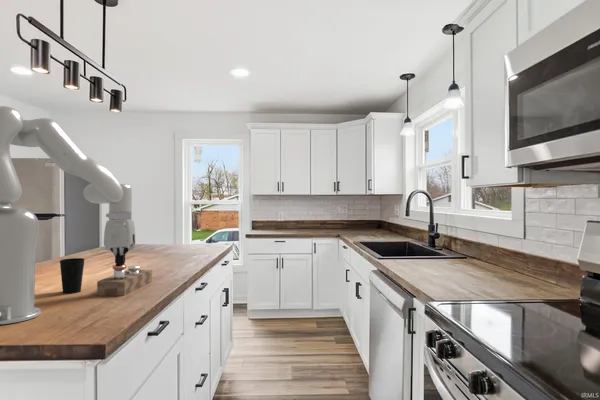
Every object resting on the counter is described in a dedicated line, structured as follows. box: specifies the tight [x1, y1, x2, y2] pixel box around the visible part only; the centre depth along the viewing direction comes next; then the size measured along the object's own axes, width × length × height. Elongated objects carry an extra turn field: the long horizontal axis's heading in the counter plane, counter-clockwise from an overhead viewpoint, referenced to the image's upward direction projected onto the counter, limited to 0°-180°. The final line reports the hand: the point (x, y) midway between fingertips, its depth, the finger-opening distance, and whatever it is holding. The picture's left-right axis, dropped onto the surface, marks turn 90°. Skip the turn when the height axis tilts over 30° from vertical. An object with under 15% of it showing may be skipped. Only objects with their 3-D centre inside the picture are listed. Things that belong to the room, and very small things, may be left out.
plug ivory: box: [127, 265, 141, 274], centre depth 141 cm, size 5×5×7 cm
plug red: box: [112, 263, 127, 280], centre depth 130 cm, size 5×5×7 cm
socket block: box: [96, 269, 153, 297], centre depth 135 cm, size 22×10×5 cm, turn 179°
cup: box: [59, 257, 86, 295], centre depth 128 cm, size 8×8×12 cm
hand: (120, 265), depth 130 cm, fingers closed
